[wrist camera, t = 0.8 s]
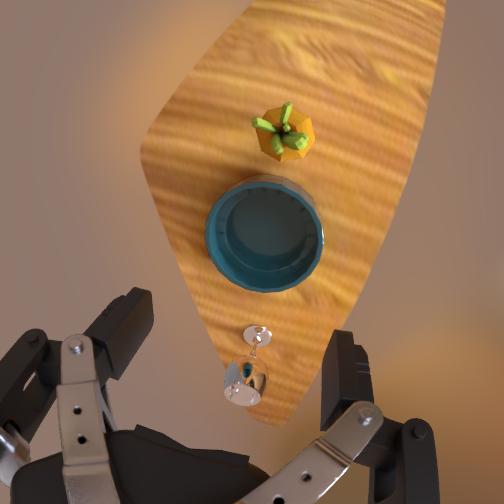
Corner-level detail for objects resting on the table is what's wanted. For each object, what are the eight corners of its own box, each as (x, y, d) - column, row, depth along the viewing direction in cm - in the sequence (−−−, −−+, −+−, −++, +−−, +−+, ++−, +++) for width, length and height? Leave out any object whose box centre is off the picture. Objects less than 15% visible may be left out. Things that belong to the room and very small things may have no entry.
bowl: (221, 166, 35) (209, 173, 30) (330, 184, 34) (334, 194, 29) (213, 262, 41) (202, 280, 36) (309, 280, 39) (309, 301, 35)
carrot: (260, 127, 32) (229, 128, 19) (295, 102, 30) (288, 85, 17) (286, 160, 33) (273, 186, 20) (320, 137, 31) (333, 145, 18)
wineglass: (281, 328, 43) (271, 389, 33) (269, 353, 46) (257, 412, 35) (244, 317, 44) (225, 375, 33) (235, 342, 46) (216, 400, 35)
